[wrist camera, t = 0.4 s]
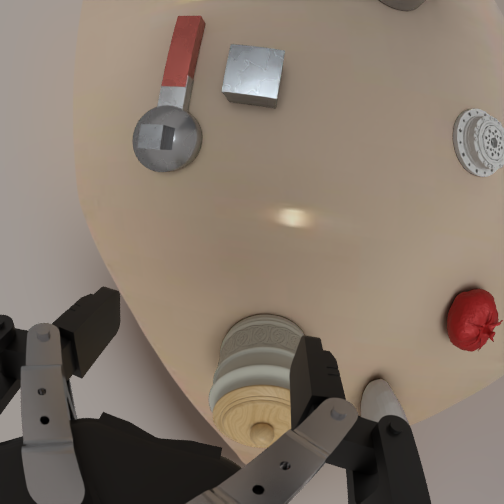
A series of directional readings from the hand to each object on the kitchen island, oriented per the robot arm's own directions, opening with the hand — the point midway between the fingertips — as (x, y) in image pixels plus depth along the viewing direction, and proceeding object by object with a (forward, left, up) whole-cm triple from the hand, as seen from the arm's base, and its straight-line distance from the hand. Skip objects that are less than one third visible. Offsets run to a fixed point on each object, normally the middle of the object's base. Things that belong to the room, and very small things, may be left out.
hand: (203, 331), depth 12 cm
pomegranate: (-5, +38, -27) cm, 46 cm away
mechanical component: (-27, +23, -27) cm, 44 cm away
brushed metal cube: (-15, -7, -26) cm, 31 cm away
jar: (+16, +12, -26) cm, 33 cm away
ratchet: (-10, -15, -26) cm, 32 cm away
